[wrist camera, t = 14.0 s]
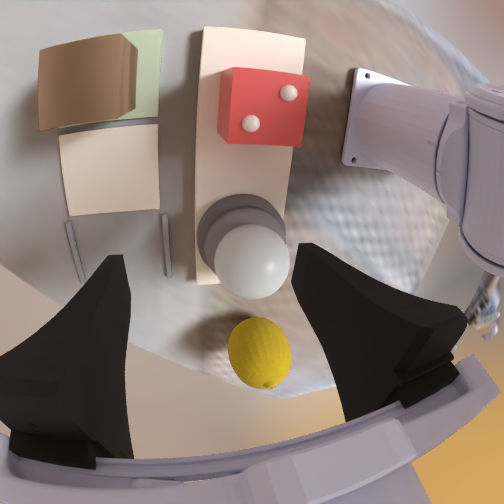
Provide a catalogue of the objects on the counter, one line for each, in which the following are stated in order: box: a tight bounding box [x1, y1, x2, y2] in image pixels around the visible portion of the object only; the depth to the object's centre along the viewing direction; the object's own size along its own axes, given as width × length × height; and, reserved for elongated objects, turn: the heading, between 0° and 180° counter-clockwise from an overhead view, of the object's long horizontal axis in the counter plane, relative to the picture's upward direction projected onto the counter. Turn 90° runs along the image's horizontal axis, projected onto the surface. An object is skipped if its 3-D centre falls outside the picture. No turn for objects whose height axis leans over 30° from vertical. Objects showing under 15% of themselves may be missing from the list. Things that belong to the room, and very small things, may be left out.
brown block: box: [38, 33, 138, 131], centre depth 11 cm, size 4×4×6 cm
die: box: [217, 67, 310, 147], centre depth 14 cm, size 4×4×4 cm
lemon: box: [228, 317, 291, 389], centre depth 25 cm, size 6×6×8 cm
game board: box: [58, 27, 306, 285], centre depth 17 cm, size 16×19×2 cm
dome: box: [204, 206, 290, 300], centre depth 18 cm, size 6×6×5 cm
